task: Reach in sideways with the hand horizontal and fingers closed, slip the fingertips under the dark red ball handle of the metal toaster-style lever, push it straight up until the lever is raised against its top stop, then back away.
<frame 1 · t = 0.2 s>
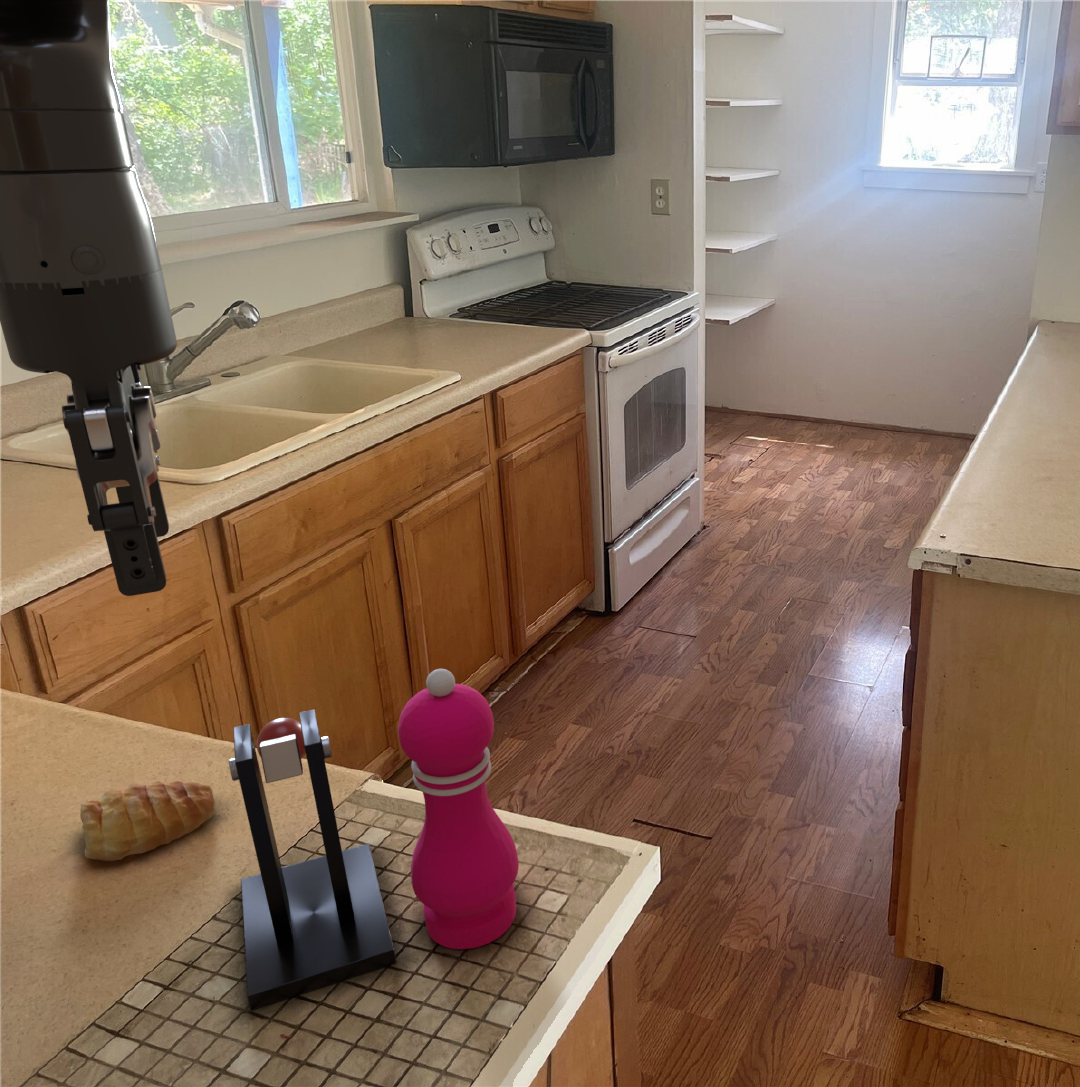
hand: (147, 562, 57), 29 cm above the countertop, tool pointing down, fingers open, 8 cm apart
pastry: (143, 834, 81), on the countertop
lever: (282, 749, 71), point 12 cm above the countertop, hinge at -25.0°
pepper mill: (472, 919, 72), on the countertop
bracket: (316, 925, 71), on the countertop
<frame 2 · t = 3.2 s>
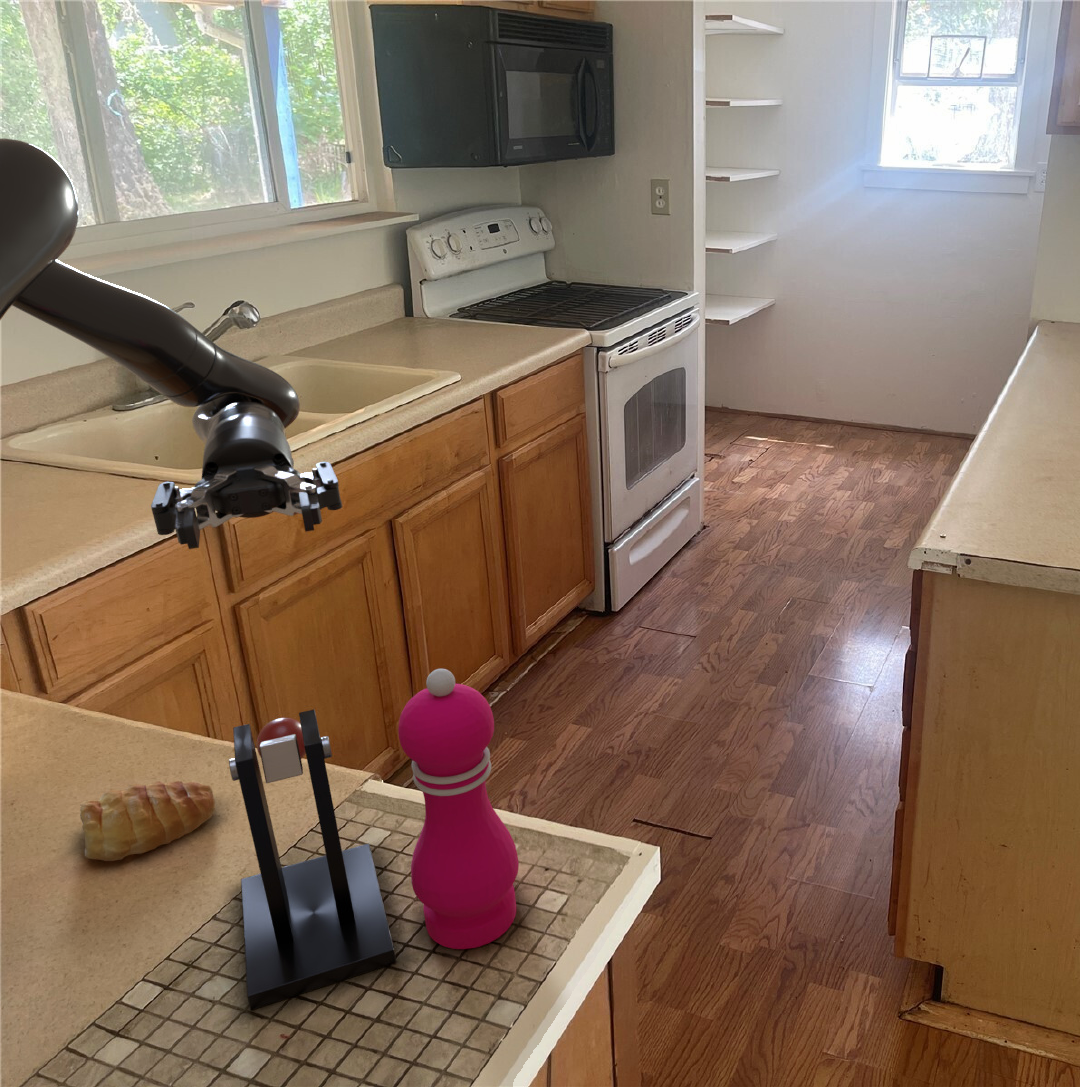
hand: (250, 528, 80), 22 cm above the countertop, tool horizontal, fingers open, 8 cm apart
nothing on the countertop moved.
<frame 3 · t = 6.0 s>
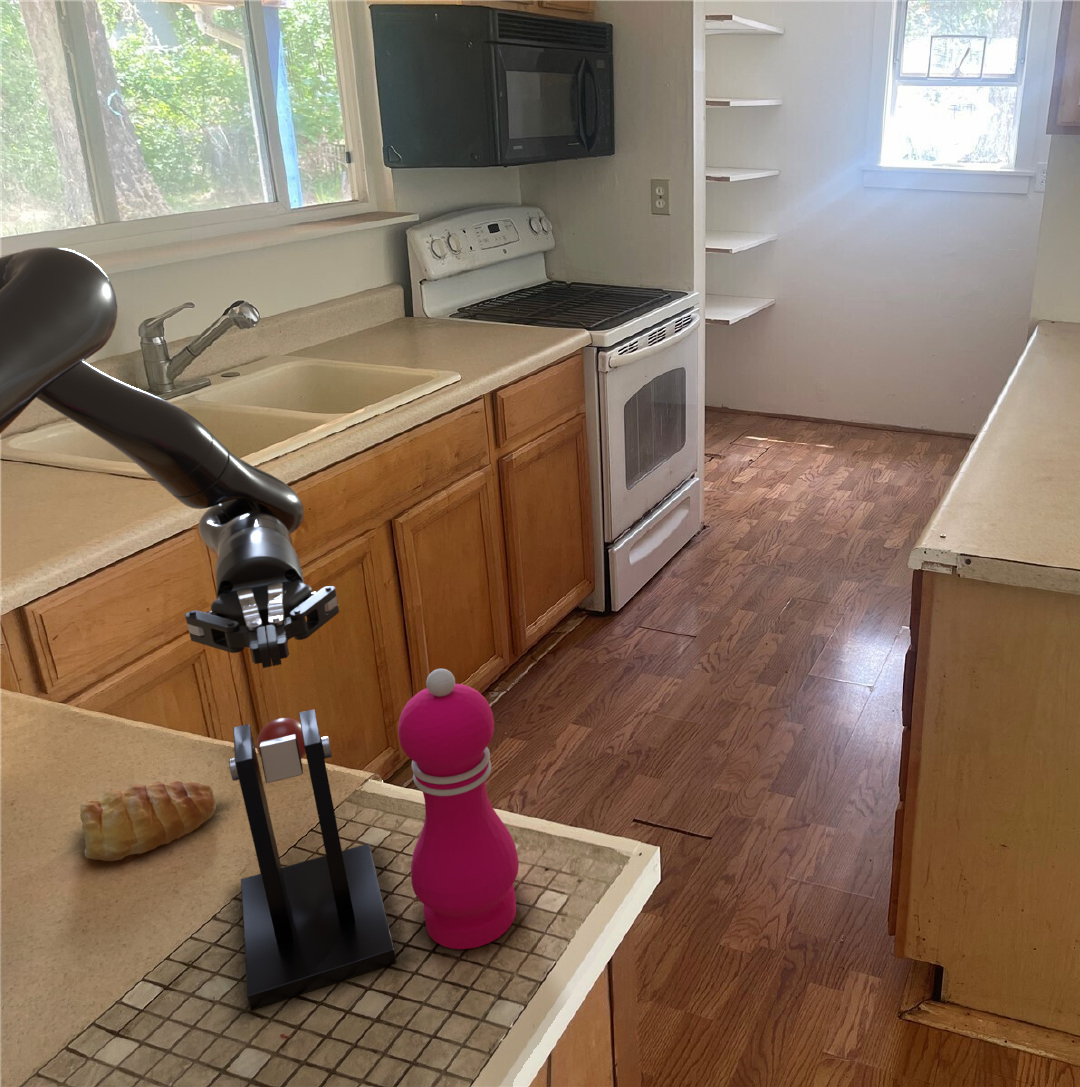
hand: (270, 656, 83), 12 cm above the countertop, tool horizontal, fingers closed
nothing on the countertop moved.
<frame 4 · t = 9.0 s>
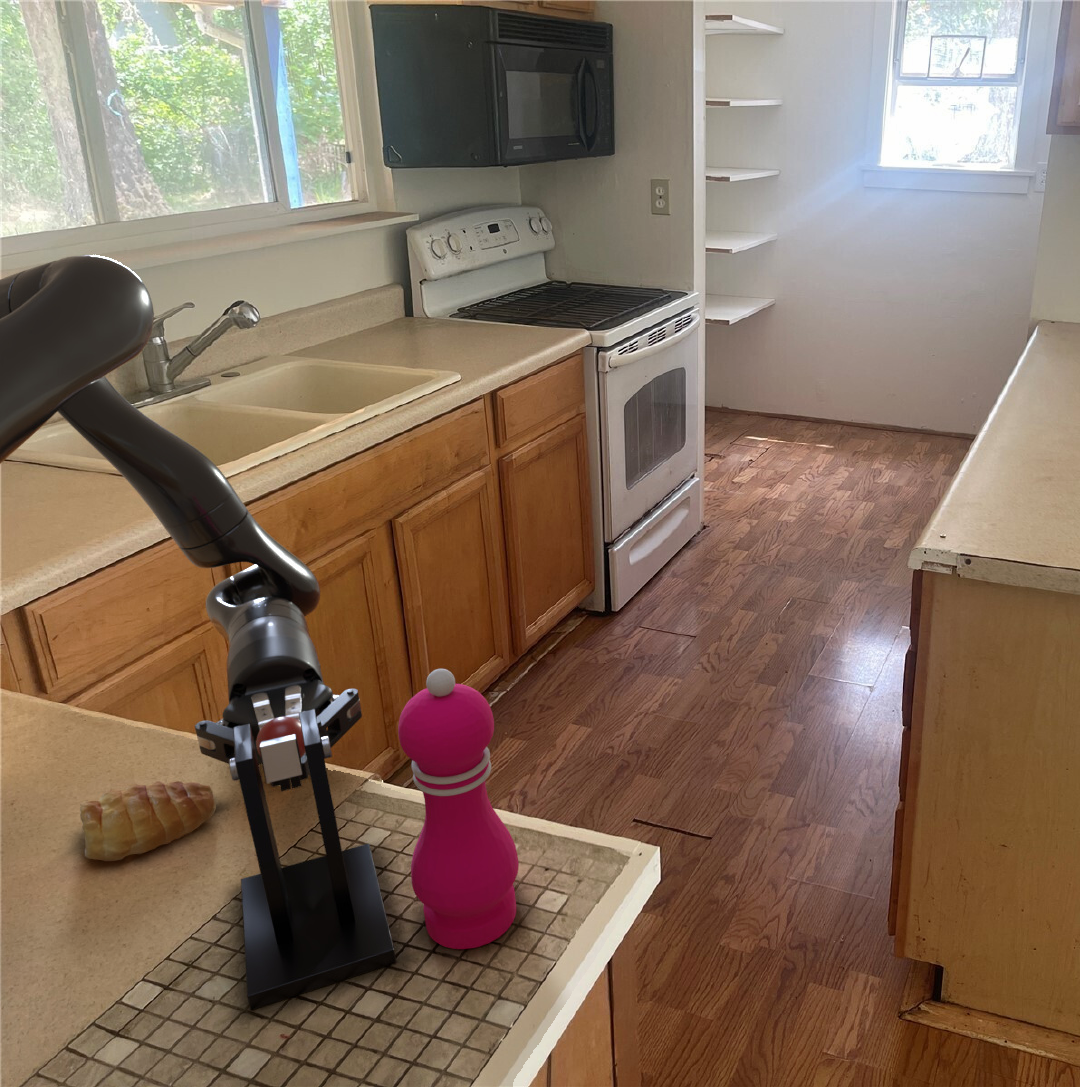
hand: (289, 779, 76), 7 cm above the countertop, tool horizontal, fingers closed
lever: (282, 748, 71), point 12 cm above the countertop, hinge at -24.4°, touching gripper
everything else where it was.
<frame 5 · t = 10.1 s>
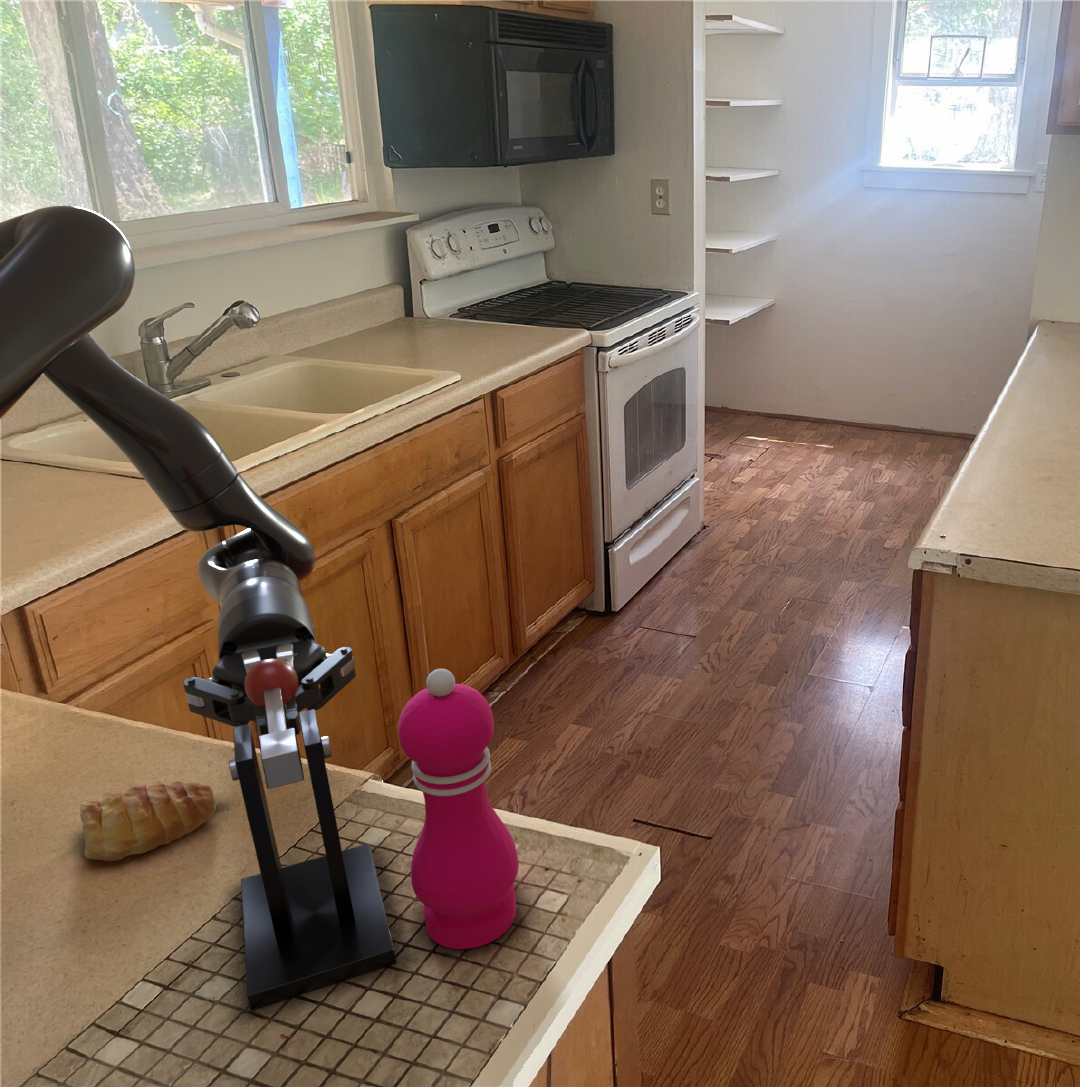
hand: (280, 734, 73), 11 cm above the countertop, tool horizontal, fingers closed
lever: (276, 717, 70), point 14 cm above the countertop, hinge at 1.7°, touching gripper
everything else where it was.
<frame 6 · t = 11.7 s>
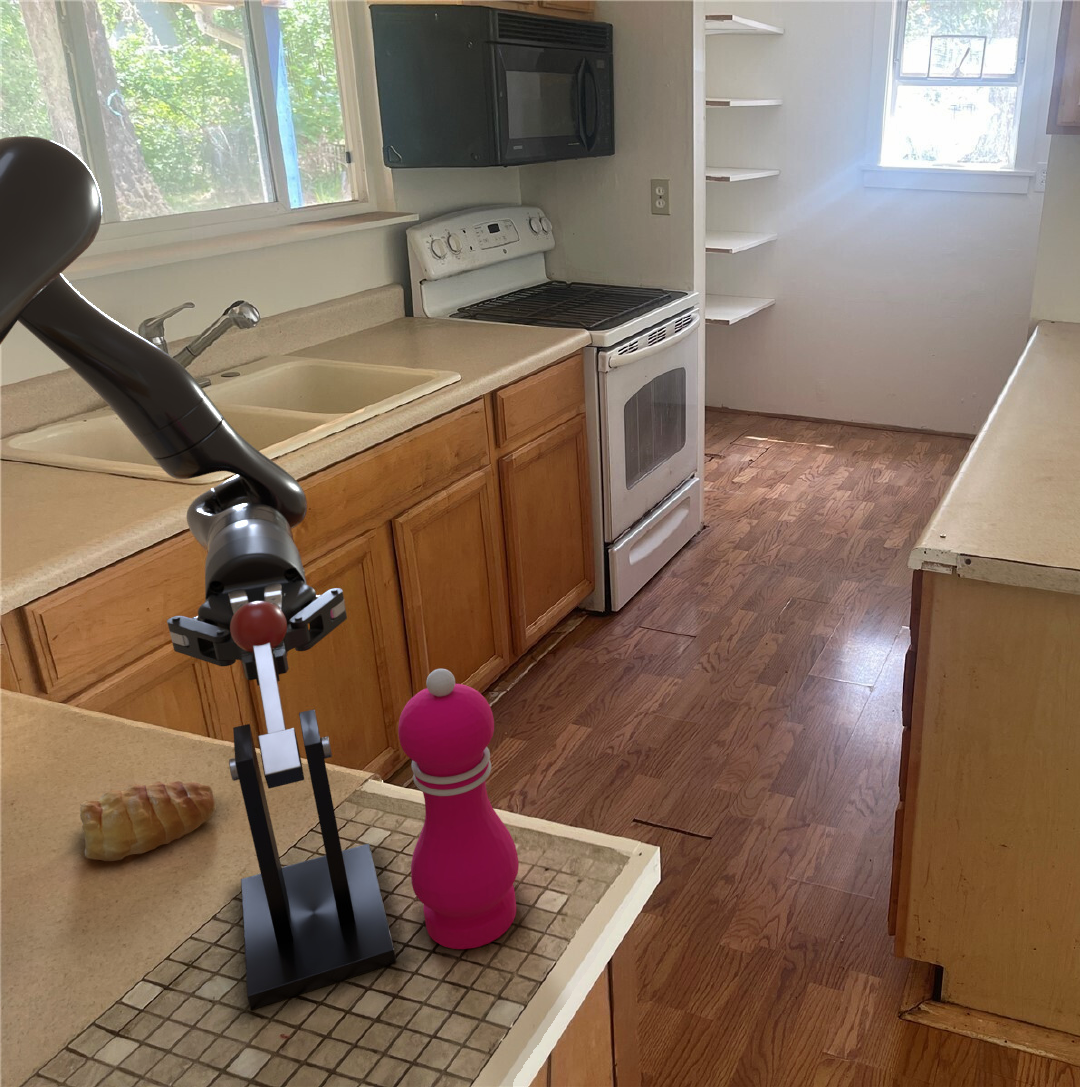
hand: (266, 671, 71), 17 cm above the countertop, tool horizontal, fingers closed
lever: (269, 687, 68), point 17 cm above the countertop, hinge at 35.3°, touching gripper
everything else where it was.
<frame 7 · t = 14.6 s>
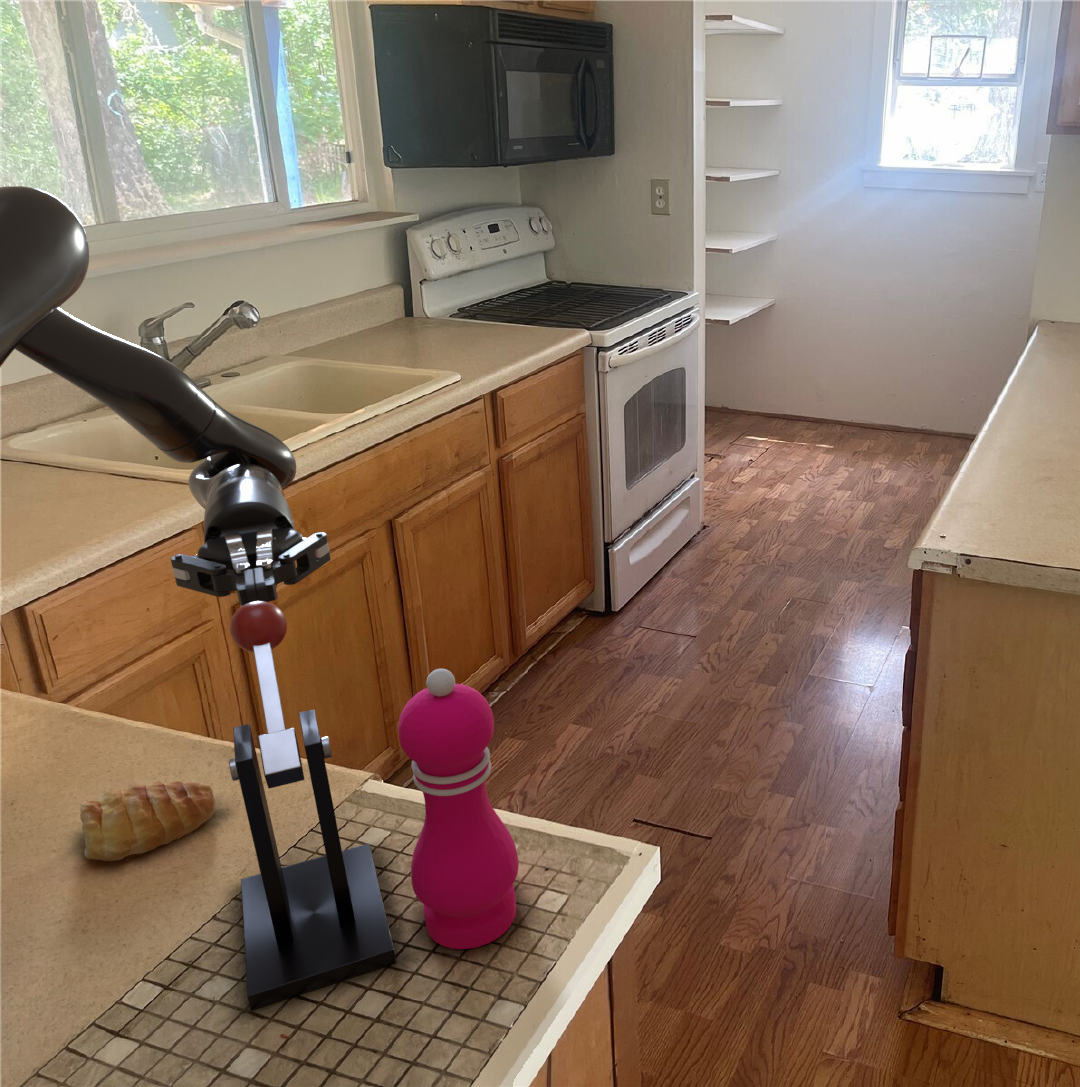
hand: (258, 598, 80), 17 cm above the countertop, tool horizontal, fingers closed
lever: (269, 687, 68), point 17 cm above the countertop, hinge at 35.3°
everything else where it was.
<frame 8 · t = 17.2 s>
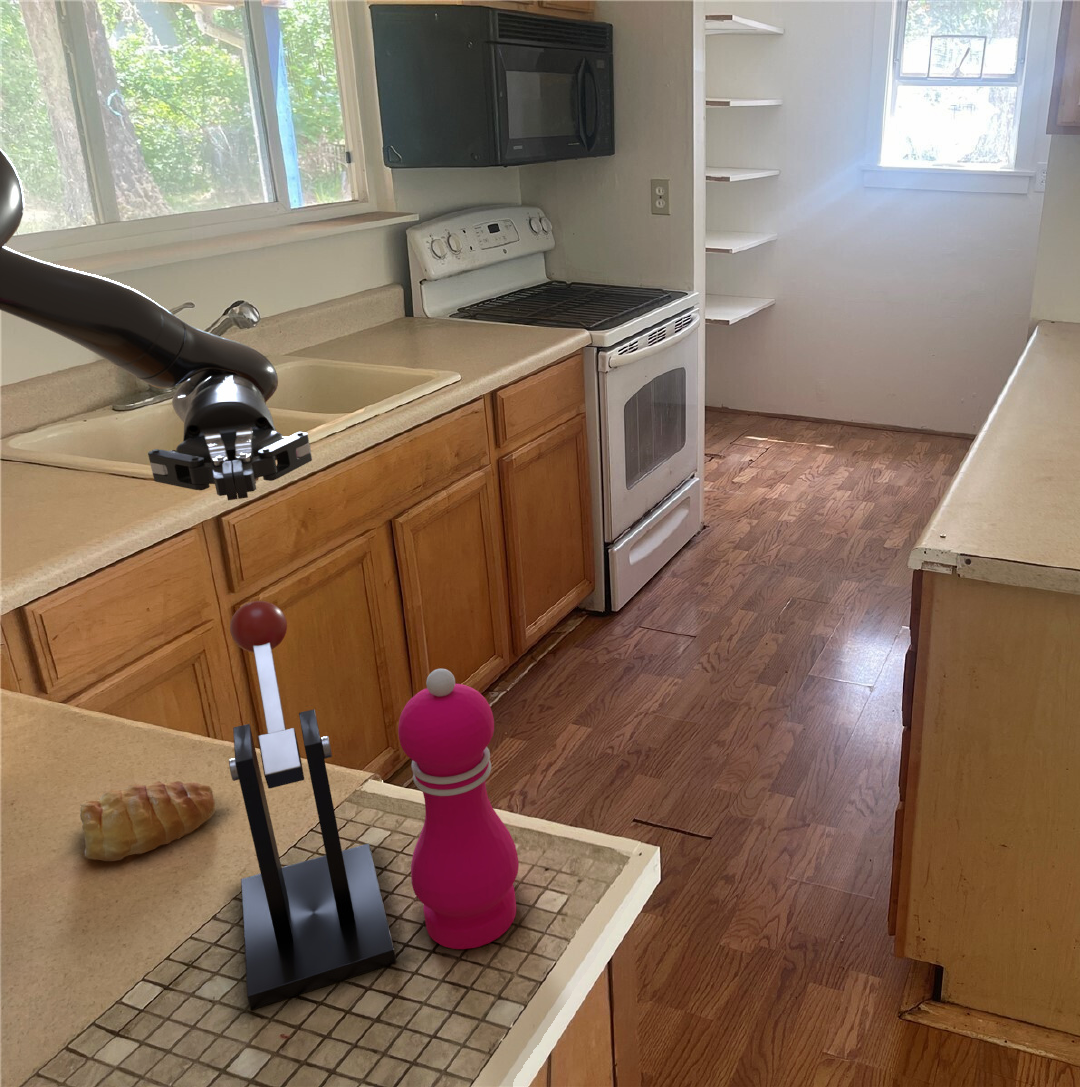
hand: (235, 487, 79), 26 cm above the countertop, tool horizontal, fingers closed
nothing on the countertop moved.
at the end: lever at +35° (first picture: -25°); pepper mill moved 0.2 cm from its start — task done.
